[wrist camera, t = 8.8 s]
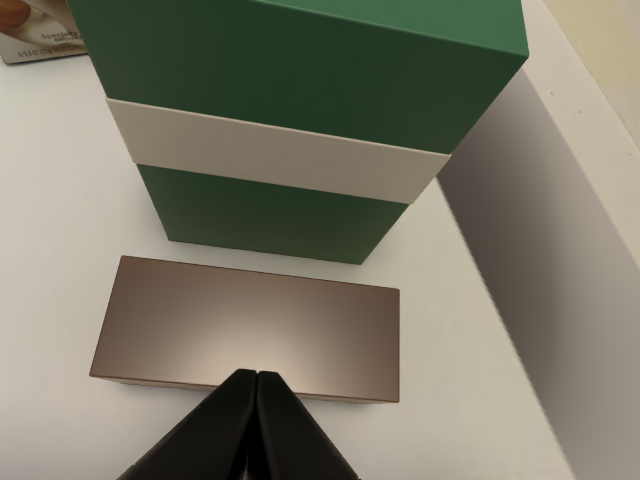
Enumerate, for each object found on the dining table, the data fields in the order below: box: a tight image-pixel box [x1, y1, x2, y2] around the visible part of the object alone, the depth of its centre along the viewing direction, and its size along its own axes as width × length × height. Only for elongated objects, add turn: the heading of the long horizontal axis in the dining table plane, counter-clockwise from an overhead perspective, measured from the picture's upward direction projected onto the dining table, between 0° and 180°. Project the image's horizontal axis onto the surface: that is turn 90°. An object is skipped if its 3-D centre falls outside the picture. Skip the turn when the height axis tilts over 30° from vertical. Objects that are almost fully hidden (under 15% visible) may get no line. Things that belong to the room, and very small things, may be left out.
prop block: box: [89, 255, 400, 404], centre depth 16 cm, size 4×10×4 cm, turn 86°
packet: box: [65, 0, 529, 264], centre depth 14 cm, size 4×9×13 cm, turn 86°
